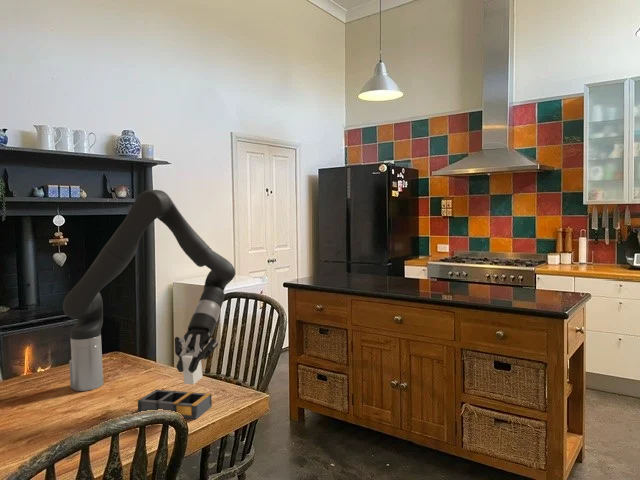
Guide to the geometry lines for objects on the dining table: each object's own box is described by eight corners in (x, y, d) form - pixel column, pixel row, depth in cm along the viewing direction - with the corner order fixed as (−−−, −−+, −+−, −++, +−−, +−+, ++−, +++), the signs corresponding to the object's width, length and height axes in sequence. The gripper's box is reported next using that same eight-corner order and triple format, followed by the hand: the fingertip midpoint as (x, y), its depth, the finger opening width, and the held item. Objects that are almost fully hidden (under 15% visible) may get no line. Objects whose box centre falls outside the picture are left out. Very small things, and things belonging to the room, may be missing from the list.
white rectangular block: (184, 383, 133) (181, 356, 132) (193, 376, 138) (190, 350, 137) (193, 384, 132) (191, 357, 131) (202, 376, 137) (200, 350, 136)
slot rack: (137, 414, 134) (136, 400, 134) (156, 401, 143) (156, 388, 143) (195, 419, 130) (194, 405, 129) (211, 406, 138) (211, 392, 138)
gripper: (179, 311, 141) (157, 363, 130) (221, 312, 138) (202, 366, 127) (189, 324, 147) (169, 375, 136) (230, 325, 143) (212, 378, 132)
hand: (185, 370), depth 131 cm, fingers closed on white rectangular block, 3 cm apart
